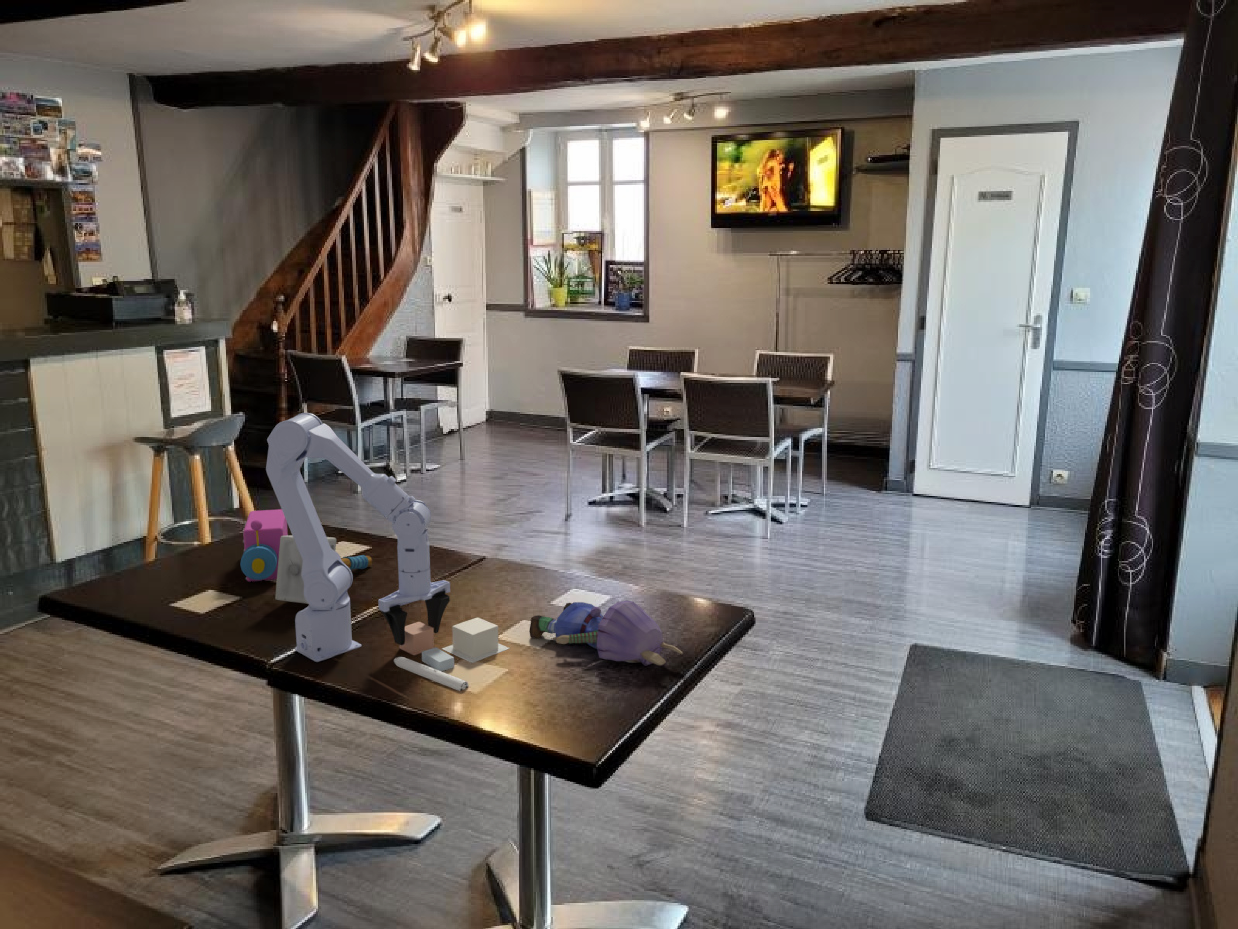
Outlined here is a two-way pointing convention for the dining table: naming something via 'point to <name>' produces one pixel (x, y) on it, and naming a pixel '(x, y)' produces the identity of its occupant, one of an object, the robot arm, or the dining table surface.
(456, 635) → the base block
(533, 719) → the dining table surface
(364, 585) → the dining table surface
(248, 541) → the toy
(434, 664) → the brick
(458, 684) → the marker
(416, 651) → the top block
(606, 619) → the toy
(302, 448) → the robot arm
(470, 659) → the plate
